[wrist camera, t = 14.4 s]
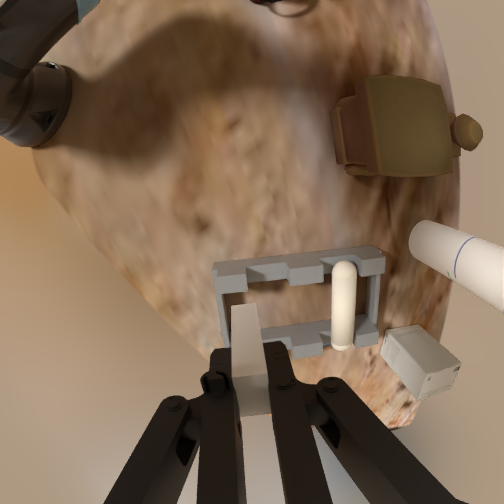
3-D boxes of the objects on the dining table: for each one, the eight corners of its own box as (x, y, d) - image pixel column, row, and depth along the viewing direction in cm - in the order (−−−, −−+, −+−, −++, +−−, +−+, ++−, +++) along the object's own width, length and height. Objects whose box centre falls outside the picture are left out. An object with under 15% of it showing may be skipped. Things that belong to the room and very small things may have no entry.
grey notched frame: (227, 347, 46) (226, 369, 40) (213, 262, 42) (210, 277, 36) (367, 327, 47) (381, 345, 41) (372, 245, 43) (390, 256, 37)
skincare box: (378, 353, 49) (413, 403, 34) (385, 327, 47) (425, 375, 33) (413, 347, 49) (450, 391, 35) (420, 321, 47) (463, 363, 33)
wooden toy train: (327, 178, 40) (380, 185, 24) (316, 102, 36) (362, 65, 20) (434, 172, 40) (505, 180, 24) (425, 106, 37) (494, 91, 21)
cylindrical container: (436, 214, 42) (549, 255, 18) (441, 251, 44) (543, 307, 20) (405, 227, 42) (520, 281, 18) (411, 266, 44) (513, 336, 20)
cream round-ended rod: (326, 347, 43) (338, 358, 40) (327, 260, 39) (341, 267, 36) (344, 340, 44) (356, 350, 41) (347, 255, 40) (362, 261, 37)
